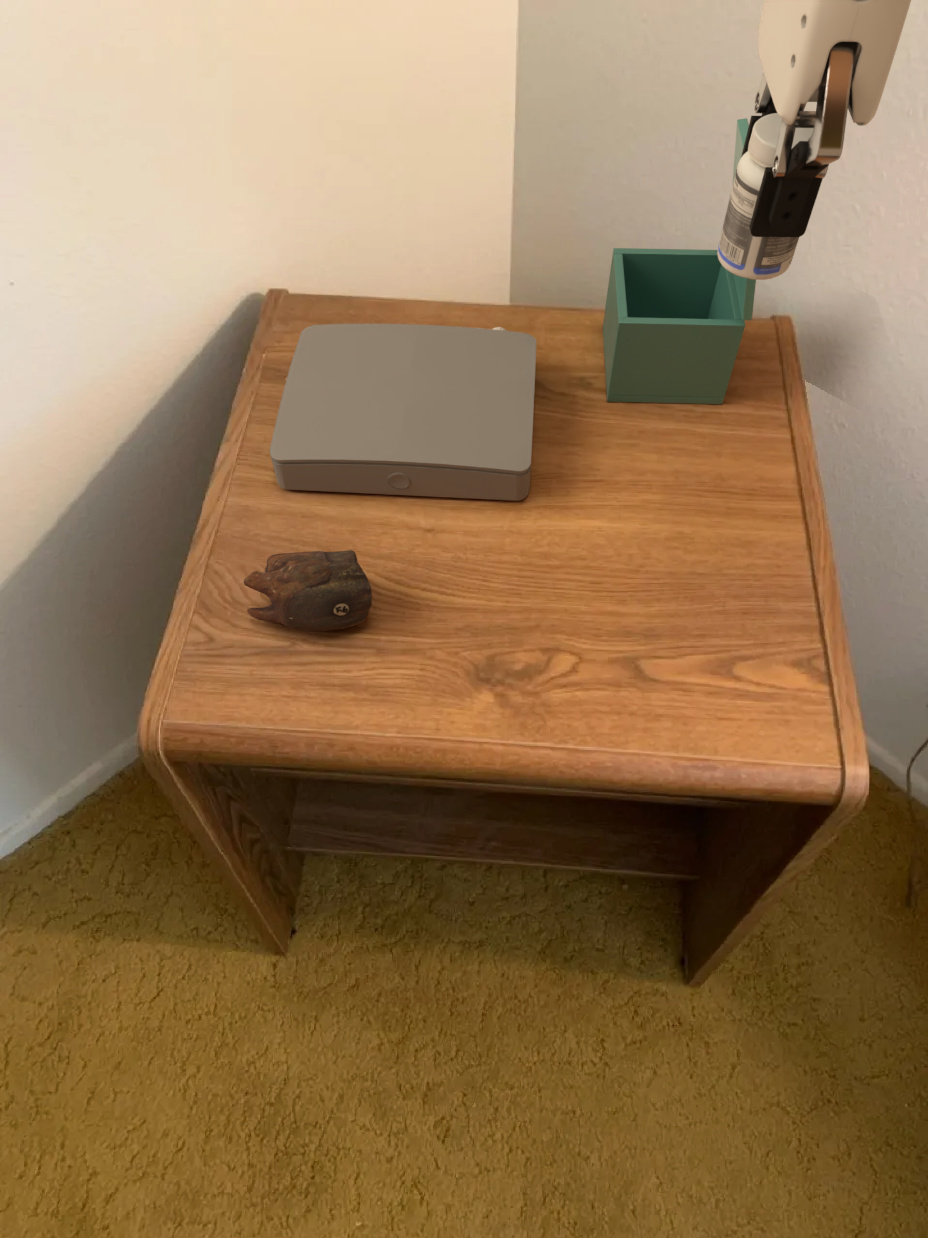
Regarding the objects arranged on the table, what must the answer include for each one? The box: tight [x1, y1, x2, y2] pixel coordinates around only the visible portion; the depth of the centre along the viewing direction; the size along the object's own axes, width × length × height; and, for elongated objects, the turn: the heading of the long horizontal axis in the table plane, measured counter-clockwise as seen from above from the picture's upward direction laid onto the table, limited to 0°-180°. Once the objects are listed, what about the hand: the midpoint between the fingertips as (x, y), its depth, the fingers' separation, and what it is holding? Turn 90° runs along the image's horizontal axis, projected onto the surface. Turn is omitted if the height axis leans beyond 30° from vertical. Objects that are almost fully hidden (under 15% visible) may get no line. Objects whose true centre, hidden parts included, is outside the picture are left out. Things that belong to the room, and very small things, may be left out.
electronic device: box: [269, 322, 537, 501], centre depth 82 cm, size 19×22×5 cm
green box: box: [602, 247, 746, 405], centre depth 84 cm, size 11×11×9 cm
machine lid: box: [731, 118, 757, 322], centre depth 75 cm, size 11×11×5 cm
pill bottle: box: [717, 113, 814, 281], centre depth 56 cm, size 5×5×8 cm
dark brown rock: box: [243, 549, 373, 632], centre depth 71 cm, size 6×7×10 cm
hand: (769, 204), depth 57 cm, fingers closed on pill bottle, 4 cm apart
